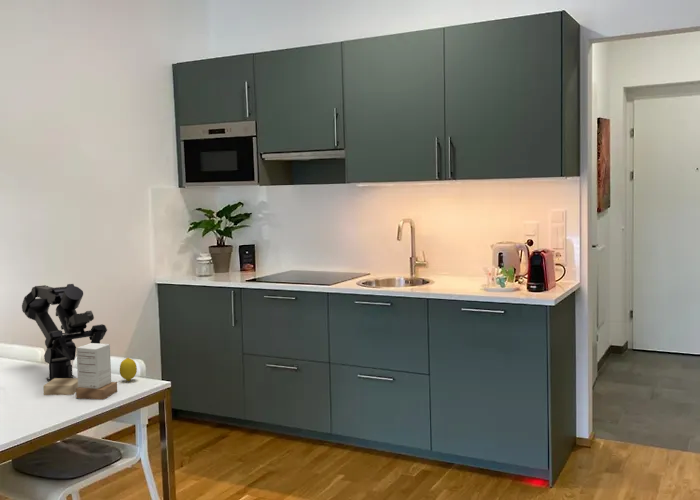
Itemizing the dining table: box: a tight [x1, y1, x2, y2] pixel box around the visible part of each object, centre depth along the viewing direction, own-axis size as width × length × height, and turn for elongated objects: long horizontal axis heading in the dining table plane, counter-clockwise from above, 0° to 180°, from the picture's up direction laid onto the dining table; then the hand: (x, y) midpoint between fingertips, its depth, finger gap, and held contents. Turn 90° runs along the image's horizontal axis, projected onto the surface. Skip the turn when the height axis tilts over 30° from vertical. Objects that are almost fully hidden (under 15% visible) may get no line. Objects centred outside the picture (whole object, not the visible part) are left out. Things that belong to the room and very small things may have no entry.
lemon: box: [119, 357, 138, 382], centre depth 240 cm, size 6×6×8 cm
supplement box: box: [76, 342, 112, 389], centre depth 224 cm, size 7×7×13 cm
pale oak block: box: [43, 377, 79, 396], centre depth 229 cm, size 9×9×3 cm
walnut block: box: [75, 381, 118, 400], centre depth 224 cm, size 9×9×3 cm
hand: (85, 357), depth 228 cm, fingers open, 9 cm apart
